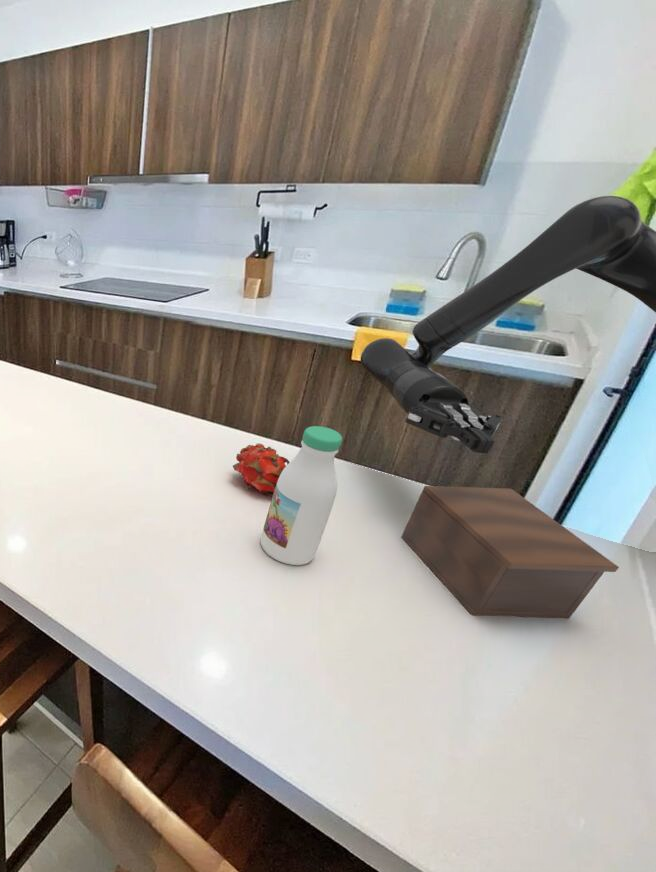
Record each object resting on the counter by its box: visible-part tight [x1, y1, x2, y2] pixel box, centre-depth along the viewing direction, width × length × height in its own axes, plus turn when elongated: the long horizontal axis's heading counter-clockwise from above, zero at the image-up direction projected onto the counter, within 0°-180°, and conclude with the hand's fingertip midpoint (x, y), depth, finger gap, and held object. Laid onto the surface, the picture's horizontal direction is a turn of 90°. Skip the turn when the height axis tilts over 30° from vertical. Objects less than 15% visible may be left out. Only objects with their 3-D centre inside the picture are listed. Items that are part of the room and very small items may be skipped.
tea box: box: [400, 490, 605, 619], centre depth 70 cm, size 16×13×9 cm
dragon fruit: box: [232, 443, 291, 497], centre depth 89 cm, size 8×8×12 cm
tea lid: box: [422, 485, 620, 573], centre depth 67 cm, size 17×13×1 cm
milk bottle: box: [260, 425, 343, 566], centre depth 71 cm, size 8×8×20 cm
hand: (484, 447), depth 67 cm, fingers closed
